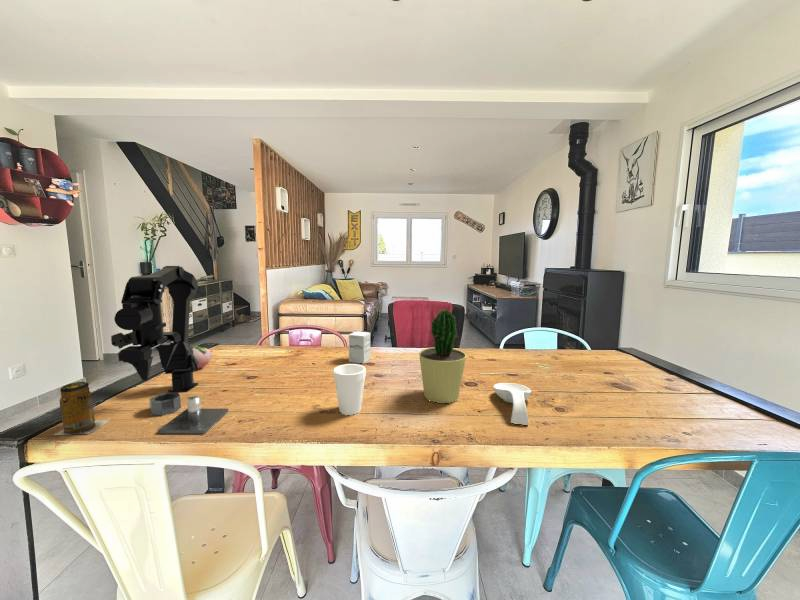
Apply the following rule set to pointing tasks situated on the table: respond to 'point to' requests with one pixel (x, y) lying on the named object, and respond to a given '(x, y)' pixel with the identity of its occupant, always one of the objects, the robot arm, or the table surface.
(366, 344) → the supplement box
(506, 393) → the spoon rest
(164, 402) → the octagonal metal collar
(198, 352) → the decorative fruit
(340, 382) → the foam cup
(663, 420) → the table surface
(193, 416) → the piston post
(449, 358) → the potted cactus
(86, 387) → the condiment
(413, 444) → the table surface
